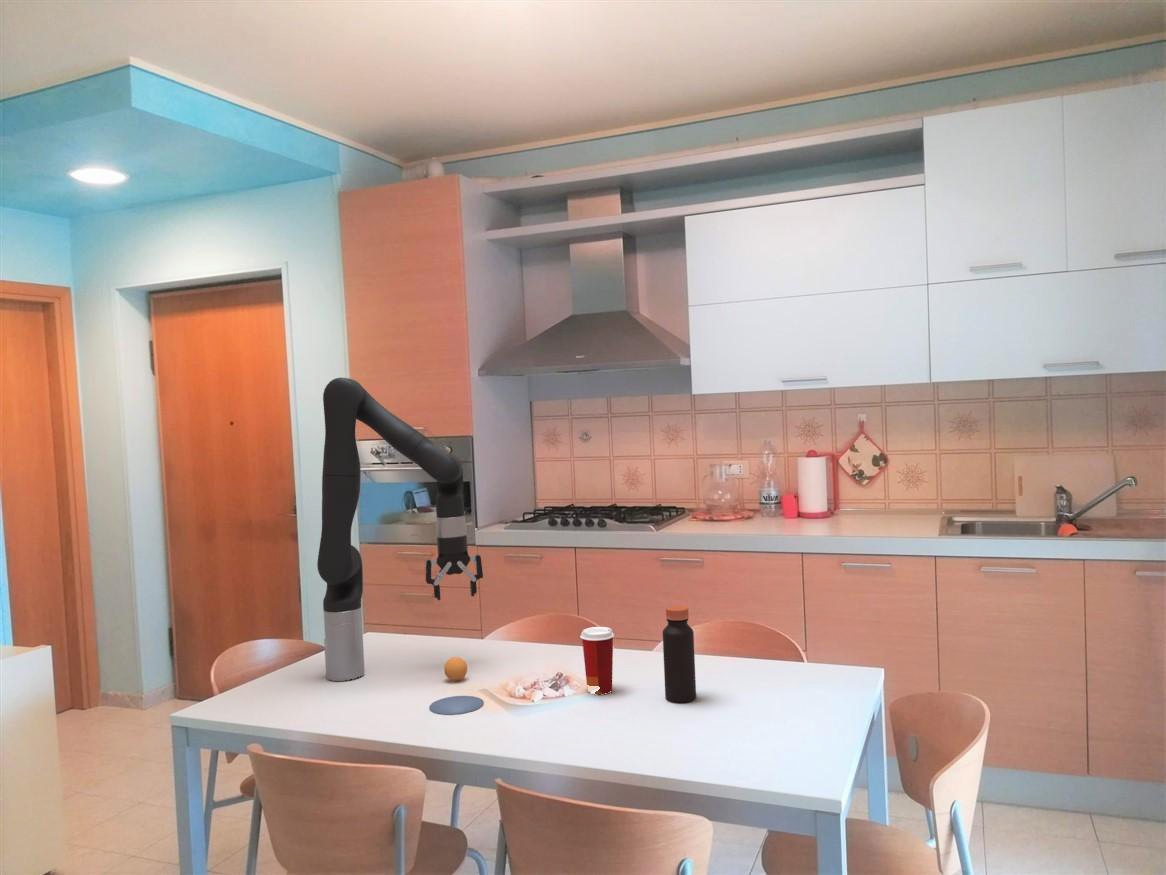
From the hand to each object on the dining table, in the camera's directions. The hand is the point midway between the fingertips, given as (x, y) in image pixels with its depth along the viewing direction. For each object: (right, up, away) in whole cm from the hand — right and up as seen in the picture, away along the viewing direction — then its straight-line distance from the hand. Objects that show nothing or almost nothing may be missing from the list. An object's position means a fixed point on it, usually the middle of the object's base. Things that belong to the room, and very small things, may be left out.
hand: (455, 597), depth 218 cm
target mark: (+4, -19, -27) cm, 33 cm away
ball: (+1, -16, -8) cm, 18 cm away
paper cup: (+36, -18, -21) cm, 45 cm away
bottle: (+54, -17, -29) cm, 63 cm away
